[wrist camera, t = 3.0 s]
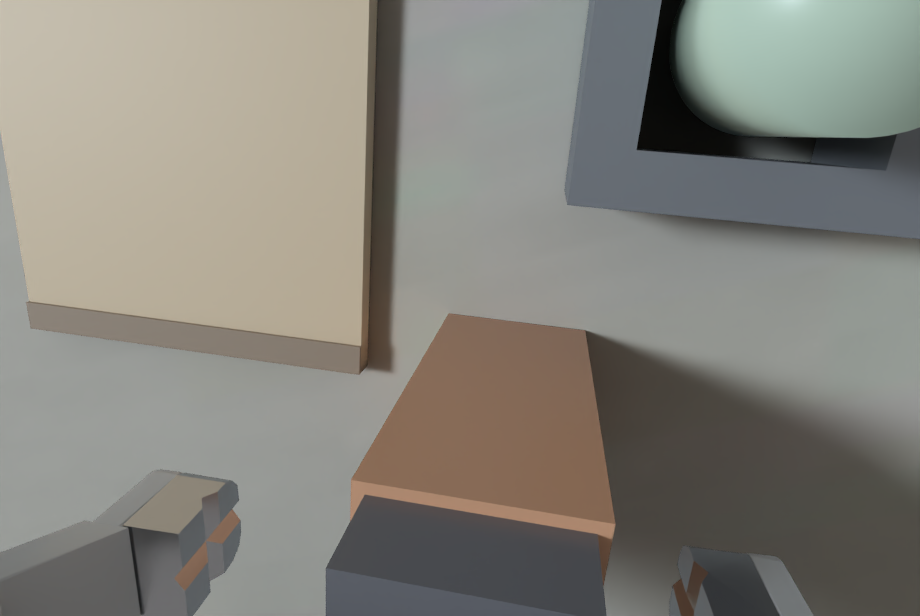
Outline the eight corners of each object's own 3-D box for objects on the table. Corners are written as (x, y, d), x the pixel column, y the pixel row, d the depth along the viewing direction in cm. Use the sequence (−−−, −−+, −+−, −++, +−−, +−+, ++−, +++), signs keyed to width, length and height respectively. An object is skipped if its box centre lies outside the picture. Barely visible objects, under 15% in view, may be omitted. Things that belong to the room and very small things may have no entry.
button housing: (945, -117, 11) (1088, -209, 8) (848, 216, 13) (933, 239, 10) (606, -125, 12) (623, -209, 9) (564, 190, 13) (567, 204, 11)
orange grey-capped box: (585, 330, 14) (629, 609, 6) (566, 451, 16) (581, 831, 7) (448, 313, 15) (309, 550, 6) (440, 432, 16) (311, 766, 8)
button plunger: (897, -65, 9) (1125, -197, 6) (840, 143, 10) (999, 149, 7) (689, -73, 10) (773, -199, 6) (654, 129, 11) (706, 127, 7)
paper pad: (381, -147, 12) (371, -163, 11) (367, 364, 16) (359, 374, 15) (-25, -154, 13) (-55, -169, 13) (51, 320, 17) (30, 328, 16)
